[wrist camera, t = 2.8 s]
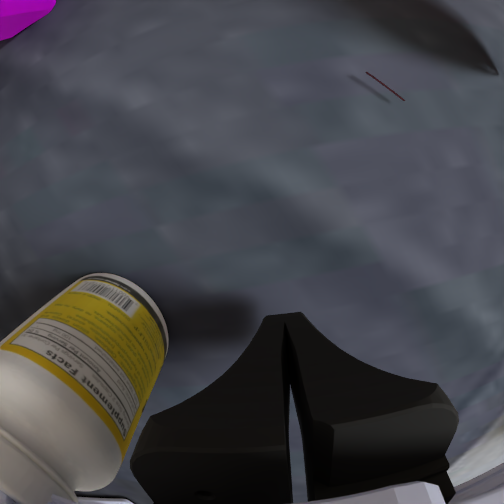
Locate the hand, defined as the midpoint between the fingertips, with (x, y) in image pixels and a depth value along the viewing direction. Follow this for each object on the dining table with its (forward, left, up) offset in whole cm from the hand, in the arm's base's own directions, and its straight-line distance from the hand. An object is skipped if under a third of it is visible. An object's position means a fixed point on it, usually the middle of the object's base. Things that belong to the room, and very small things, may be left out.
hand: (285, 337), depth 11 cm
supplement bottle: (-7, +3, -2) cm, 8 cm away
